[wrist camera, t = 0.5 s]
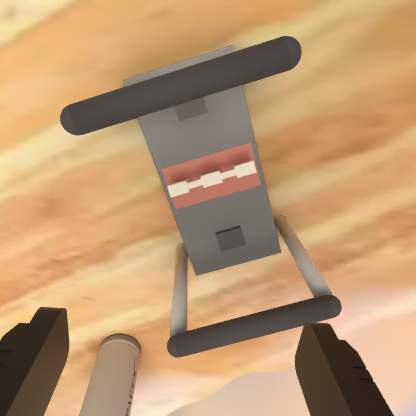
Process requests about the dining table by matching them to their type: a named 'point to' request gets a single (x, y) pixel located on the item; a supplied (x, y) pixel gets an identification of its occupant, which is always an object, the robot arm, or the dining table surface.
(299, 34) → the dining table surface
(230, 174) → the breaker paddles
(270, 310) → the dark grey rod
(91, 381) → the travel mug
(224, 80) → the dark grey rounded rod
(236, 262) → the pdu
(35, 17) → the dining table surface
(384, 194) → the dining table surface
